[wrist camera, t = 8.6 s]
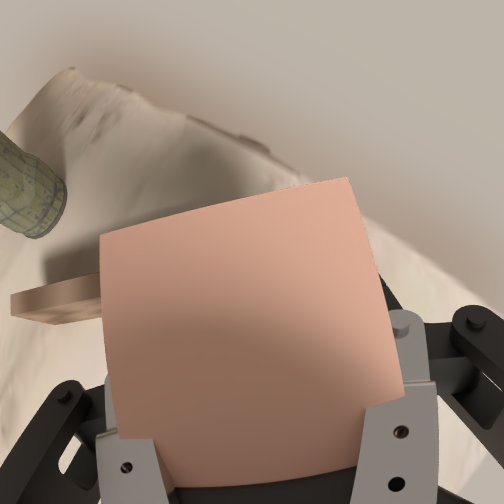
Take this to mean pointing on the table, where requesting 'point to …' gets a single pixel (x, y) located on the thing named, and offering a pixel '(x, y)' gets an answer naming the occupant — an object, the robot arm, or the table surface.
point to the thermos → (28, 192)
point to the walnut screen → (60, 301)
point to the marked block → (248, 336)
